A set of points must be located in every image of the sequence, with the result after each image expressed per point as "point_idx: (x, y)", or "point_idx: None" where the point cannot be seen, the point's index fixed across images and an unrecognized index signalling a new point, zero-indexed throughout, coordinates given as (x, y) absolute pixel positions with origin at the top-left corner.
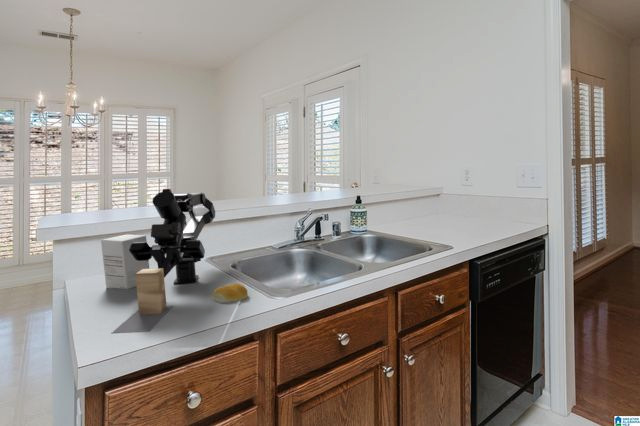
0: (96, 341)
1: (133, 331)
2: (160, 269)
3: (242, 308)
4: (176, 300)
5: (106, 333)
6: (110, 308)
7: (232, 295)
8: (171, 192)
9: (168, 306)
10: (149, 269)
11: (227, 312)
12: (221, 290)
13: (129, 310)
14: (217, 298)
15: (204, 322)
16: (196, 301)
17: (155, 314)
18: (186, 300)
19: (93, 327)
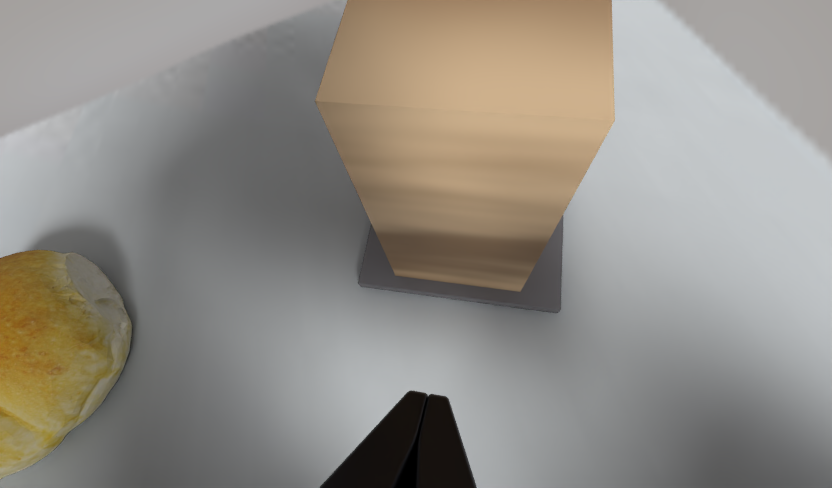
0: None
1: None
2: (344, 57)
3: (37, 196)
4: (357, 432)
5: None
6: (807, 394)
7: (2, 258)
8: None
9: (385, 280)
10: (496, 83)
11: (111, 166)
12: (22, 281)
13: (630, 315)
14: (96, 294)
15: (218, 91)
16: (229, 367)
17: None
18: (290, 409)
19: (706, 123)
